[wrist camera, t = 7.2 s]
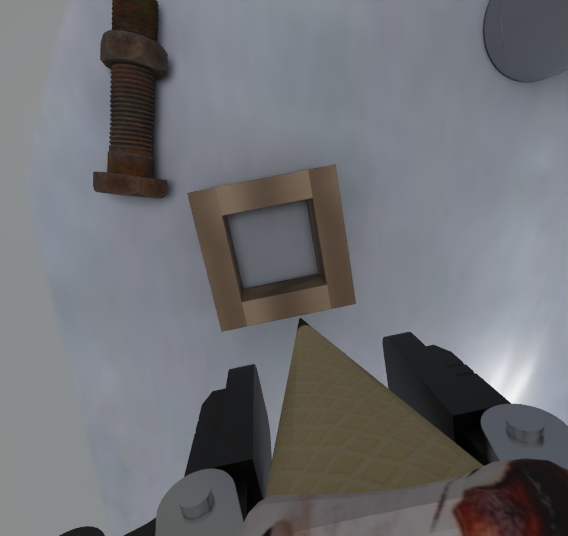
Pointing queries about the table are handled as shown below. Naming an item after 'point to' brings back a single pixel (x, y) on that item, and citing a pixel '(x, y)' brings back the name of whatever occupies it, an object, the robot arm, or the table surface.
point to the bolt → (132, 99)
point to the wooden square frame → (285, 294)
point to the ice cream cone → (388, 465)
